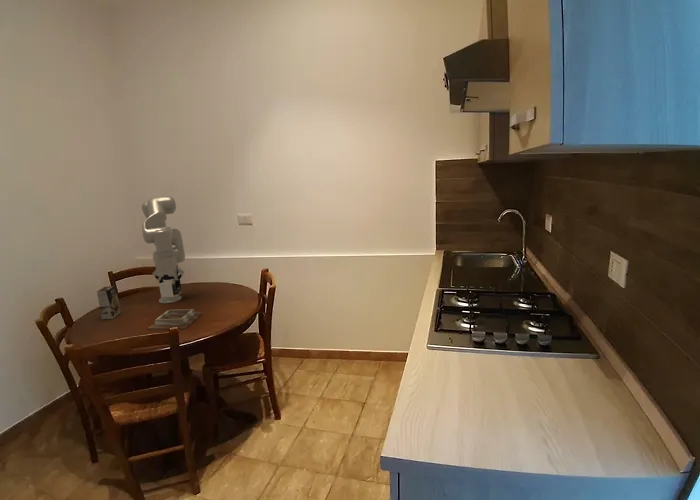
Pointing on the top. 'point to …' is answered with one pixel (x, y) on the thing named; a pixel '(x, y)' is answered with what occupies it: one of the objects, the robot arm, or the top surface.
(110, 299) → the coffee box
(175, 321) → the collar board
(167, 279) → the medicine bottle
